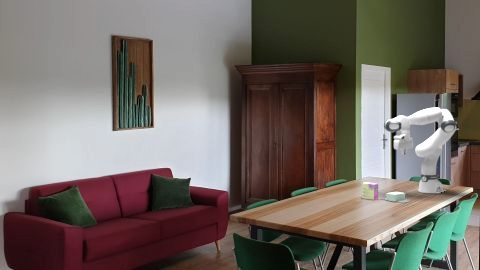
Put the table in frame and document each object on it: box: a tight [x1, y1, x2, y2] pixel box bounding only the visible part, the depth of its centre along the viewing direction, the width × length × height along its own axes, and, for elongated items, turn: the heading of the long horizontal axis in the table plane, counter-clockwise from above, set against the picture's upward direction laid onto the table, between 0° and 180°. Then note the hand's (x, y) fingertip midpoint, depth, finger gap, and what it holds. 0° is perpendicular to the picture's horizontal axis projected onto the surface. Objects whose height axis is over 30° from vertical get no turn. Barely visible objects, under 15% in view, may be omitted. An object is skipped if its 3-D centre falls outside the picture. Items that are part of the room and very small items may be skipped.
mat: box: [380, 197, 412, 204], centre depth 380 cm, size 10×20×1 cm, turn 37°
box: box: [361, 181, 379, 201], centre depth 387 cm, size 10×6×12 cm, turn 41°
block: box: [385, 191, 406, 203], centre depth 379 cm, size 5×8×12 cm
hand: (403, 154), depth 393 cm, fingers closed
